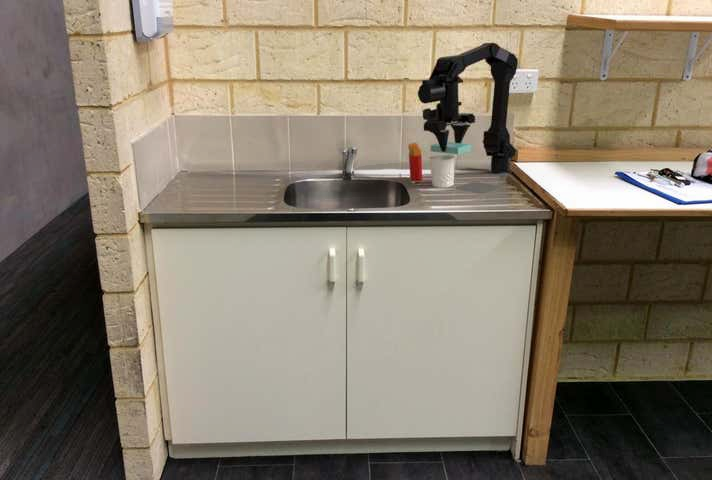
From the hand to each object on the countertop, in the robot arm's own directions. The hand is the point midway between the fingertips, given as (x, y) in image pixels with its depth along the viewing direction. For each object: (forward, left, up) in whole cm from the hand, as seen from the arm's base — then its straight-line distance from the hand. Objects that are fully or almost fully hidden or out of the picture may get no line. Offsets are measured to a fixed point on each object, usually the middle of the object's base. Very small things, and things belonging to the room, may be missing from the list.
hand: (450, 149), depth 192 cm
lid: (0, 0, 0) cm, 0 cm away
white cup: (+1, -3, -13) cm, 13 cm away
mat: (-2, +9, -13) cm, 16 cm away
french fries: (-1, -17, -13) cm, 21 cm away
